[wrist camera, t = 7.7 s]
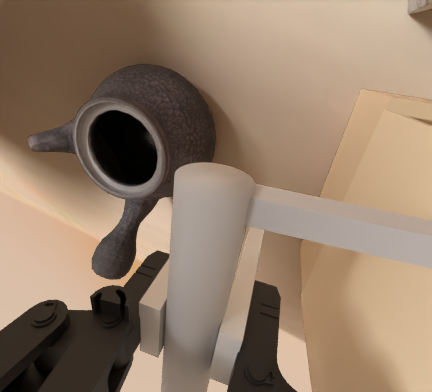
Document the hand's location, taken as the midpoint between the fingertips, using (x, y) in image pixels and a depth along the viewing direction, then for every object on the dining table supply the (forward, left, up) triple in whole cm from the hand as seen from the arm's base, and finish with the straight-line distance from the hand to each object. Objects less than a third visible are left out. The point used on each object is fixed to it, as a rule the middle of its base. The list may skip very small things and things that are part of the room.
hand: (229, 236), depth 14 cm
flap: (+7, 0, +1) cm, 7 cm away
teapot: (-11, -2, -12) cm, 17 cm away
